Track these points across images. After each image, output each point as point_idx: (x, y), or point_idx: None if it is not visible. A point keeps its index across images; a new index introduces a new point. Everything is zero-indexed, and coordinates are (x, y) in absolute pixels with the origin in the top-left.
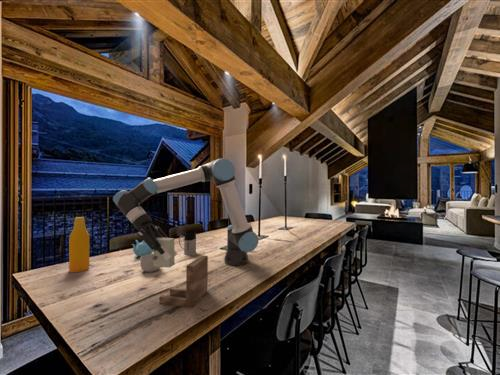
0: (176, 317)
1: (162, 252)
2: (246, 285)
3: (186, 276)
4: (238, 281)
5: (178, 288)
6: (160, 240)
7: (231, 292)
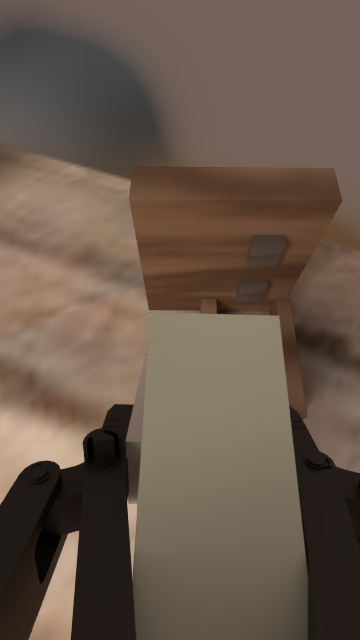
0: (353, 308)
1: (296, 415)
2: (77, 183)
3: (318, 241)
4: (44, 212)
5: None
6: (292, 468)
7: None
